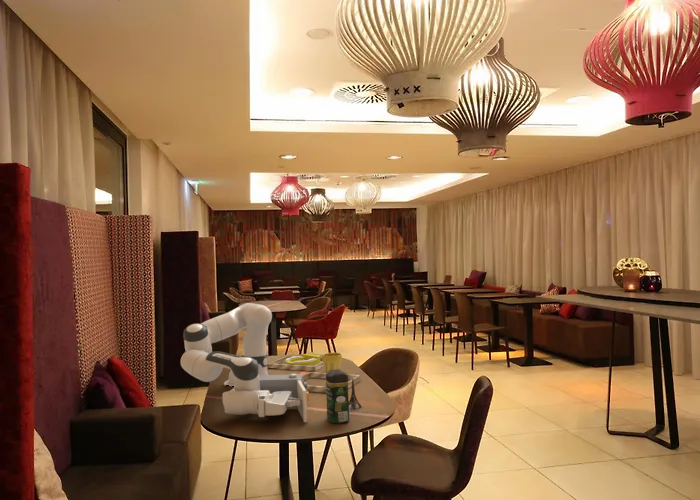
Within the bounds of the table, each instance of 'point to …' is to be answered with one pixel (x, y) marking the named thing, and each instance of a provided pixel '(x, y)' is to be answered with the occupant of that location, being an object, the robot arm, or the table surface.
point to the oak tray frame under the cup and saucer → (323, 375)
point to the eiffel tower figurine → (354, 401)
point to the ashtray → (304, 360)
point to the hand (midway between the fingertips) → (300, 402)
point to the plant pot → (332, 361)
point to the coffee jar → (337, 396)
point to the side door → (302, 399)
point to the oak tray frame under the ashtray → (293, 367)
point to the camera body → (282, 384)
